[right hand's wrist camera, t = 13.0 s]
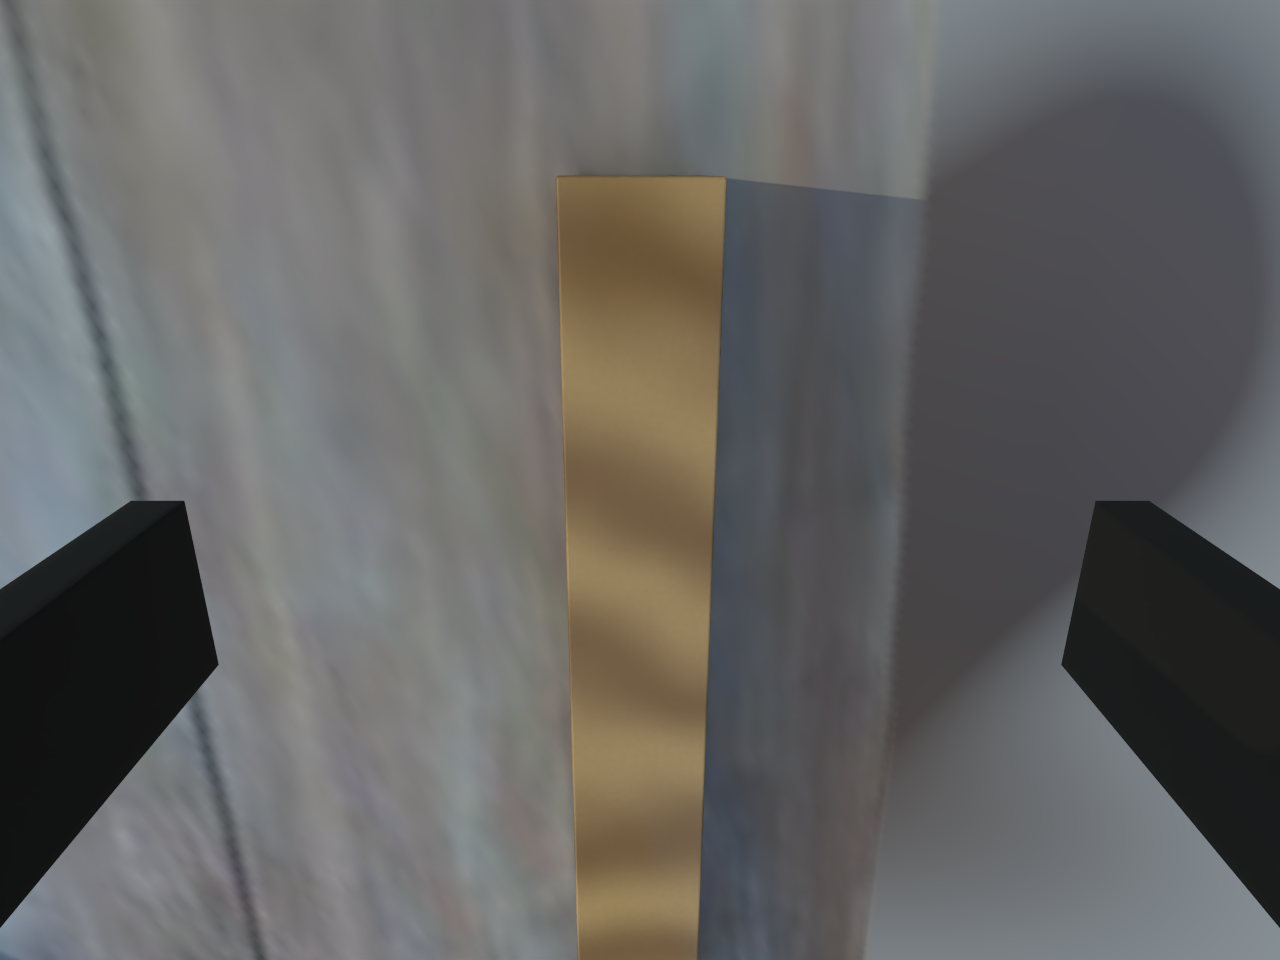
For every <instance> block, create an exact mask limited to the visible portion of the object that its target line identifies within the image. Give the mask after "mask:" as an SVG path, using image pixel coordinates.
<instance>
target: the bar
mask: <svg viewBox="0 0 1280 960" xmlns="http://www.w3.org/2000/svg"><path fill="white" fill-rule="evenodd" d="M726 188H727V179H726V177H724V176H629V175H568V176H557V177H556V205H557V240H558V276H559V311H560V347H561V382H562V418H563V453H564V489H565V524H566V560H567V595H568V631H569V666H570V702H571V737H572V773H573V808H574V844H575V879H576V915H577V951H578V960H698V941H699V914H700V887H701V860H702V833H703V807H704V780H705V753H706V726H707V699H708V672H709V645H710V618H711V592H712V565H713V538H714V511H715V484H716V457H717V430H718V403H719V376H720V350H721V323H722V296H723V269H724V242H725V215H726Z"/></svg>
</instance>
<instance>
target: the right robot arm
mask: <svg viewBox="0 0 1280 960" xmlns="http://www.w3.org/2000/svg"><path fill="white" fill-rule="evenodd" d="M218 665H219V664H218V660H217V655H216V650H215V645H214V640H213V636H212V631H211V626H210V621H209V617H208V612H207V607H206V602H205V597H204V593H203V588H202V583H201V578H200V574H199V569H198V564H197V559H196V555H195V550H194V545H193V540H192V535H191V531H190V526H189V521H188V516H187V512H186V507H185V502H184V501H130V502H129V503H127V504H126V505H124V506H123V507H121V508H120V509H118V510H117V511H115V512H114V513H112V514H111V515H110V516H108V517H107V518H105V519H104V520H102V521H101V522H99V523H98V524H96V525H95V526H93V527H92V528H90V529H89V530H87V531H86V532H84V533H83V534H81V535H80V536H78V537H77V538H76V539H74V540H73V541H71V542H70V543H68V544H67V545H65V546H64V547H62V548H61V549H59V550H58V551H56V552H55V553H53V554H52V555H50V556H49V557H47V558H46V559H44V560H43V561H41V562H40V563H39V564H37V565H36V566H34V567H33V568H31V569H30V570H28V571H27V572H25V573H24V574H22V575H21V576H19V577H18V578H16V579H15V580H13V581H12V582H10V583H9V584H7V585H6V586H5V587H3V588H2V589H0V927H1V926H2V925H3V924H4V923H5V921H6V920H7V919H8V918H9V917H10V915H11V914H12V913H13V912H14V911H15V909H16V908H17V907H18V906H19V905H20V903H21V902H22V901H23V900H24V898H25V897H26V896H27V895H28V894H29V892H30V891H31V890H32V889H33V888H34V886H35V885H36V884H37V883H38V882H39V880H40V879H41V878H42V877H43V876H44V874H45V873H46V872H47V871H48V870H49V868H50V867H51V866H52V865H53V864H54V862H55V861H56V860H57V859H58V858H59V856H60V855H61V854H62V853H63V852H64V850H65V849H66V848H67V847H68V845H69V844H70V843H71V842H72V841H73V839H74V838H75V837H76V836H77V835H78V833H79V832H80V831H81V830H82V829H83V827H84V826H85V825H86V824H87V823H88V821H89V820H90V819H91V818H92V817H93V815H94V814H95V813H96V812H97V811H98V809H99V808H100V807H101V806H102V805H103V803H104V802H105V801H106V800H107V798H108V797H109V796H110V795H111V794H112V792H113V791H114V790H115V789H116V788H117V786H118V785H119V784H120V783H121V782H122V780H123V779H124V778H125V777H126V776H127V774H128V773H129V772H130V771H131V770H132V768H133V767H134V766H135V765H136V764H137V762H138V761H139V760H140V759H141V758H142V756H143V755H144V754H145V753H146V752H147V750H148V749H149V748H150V747H151V745H152V744H153V743H154V742H155V741H156V739H157V738H158V737H159V736H160V735H161V733H162V732H163V731H164V730H165V729H166V727H167V726H168V725H169V724H170V723H171V721H172V720H173V719H174V718H175V717H176V715H177V714H178V713H179V712H180V711H181V709H182V708H183V707H184V706H185V705H186V703H187V702H188V701H189V700H190V698H191V697H192V696H193V695H194V694H195V692H196V691H197V690H198V689H199V688H200V686H201V685H202V684H203V683H204V682H205V680H206V679H207V678H208V677H209V676H210V674H211V673H212V672H213V671H214V670H215V668H216V667H217V666H218ZM1062 666H1063V667H1064V668H1065V670H1066V671H1067V672H1068V673H1069V674H1070V676H1071V677H1072V678H1073V679H1074V680H1075V682H1076V683H1077V684H1078V685H1079V686H1080V688H1081V689H1082V690H1083V691H1084V692H1085V694H1086V695H1087V696H1088V697H1089V698H1090V700H1091V701H1092V702H1093V703H1094V704H1095V706H1096V707H1097V708H1098V709H1099V711H1100V712H1101V713H1102V714H1103V715H1104V716H1105V718H1106V719H1107V720H1108V721H1109V723H1110V724H1111V725H1112V726H1113V727H1114V729H1115V730H1116V731H1117V732H1118V733H1119V735H1120V736H1121V737H1122V738H1123V739H1124V741H1125V742H1126V743H1127V744H1128V745H1129V747H1130V748H1131V749H1132V750H1133V751H1134V753H1135V754H1136V755H1137V756H1138V758H1139V759H1140V760H1141V761H1142V762H1143V764H1144V765H1145V766H1146V767H1147V768H1148V770H1149V771H1150V772H1151V773H1152V774H1153V776H1154V777H1155V778H1156V779H1157V780H1158V782H1159V783H1160V784H1161V785H1162V786H1163V788H1164V789H1165V790H1166V791H1167V792H1168V794H1169V795H1170V796H1171V797H1172V798H1173V800H1174V801H1175V802H1176V803H1177V805H1178V806H1179V807H1180V808H1181V809H1182V811H1183V812H1184V813H1185V814H1186V815H1187V817H1188V818H1189V819H1190V820H1191V821H1192V823H1193V824H1194V825H1195V826H1196V827H1197V829H1198V830H1199V831H1200V832H1201V833H1202V835H1203V836H1204V837H1205V838H1206V839H1207V841H1208V842H1209V843H1210V844H1211V845H1212V847H1213V848H1214V849H1215V850H1216V852H1217V853H1218V854H1219V855H1220V856H1221V858H1222V859H1223V860H1224V861H1225V862H1226V864H1227V865H1228V866H1229V867H1230V868H1231V870H1232V871H1233V872H1234V873H1235V874H1236V876H1237V877H1238V878H1239V879H1240V880H1241V882H1242V883H1243V884H1244V885H1245V886H1246V888H1247V889H1248V890H1249V891H1250V892H1251V894H1252V895H1253V896H1254V897H1255V898H1256V900H1257V901H1258V902H1259V903H1260V905H1261V906H1262V907H1263V908H1264V909H1265V911H1266V912H1267V913H1268V914H1269V915H1270V917H1271V918H1272V919H1273V920H1274V921H1275V923H1276V924H1277V925H1278V926H1279V927H1280V589H1278V588H1277V587H1275V586H1274V585H1272V584H1271V583H1270V582H1268V581H1267V580H1265V579H1264V578H1262V577H1261V576H1259V575H1258V574H1256V573H1255V572H1253V571H1252V570H1250V569H1249V568H1247V567H1246V566H1244V565H1243V564H1241V563H1240V562H1239V561H1237V560H1236V559H1234V558H1233V557H1231V556H1230V555H1228V554H1227V553H1225V552H1224V551H1222V550H1221V549H1219V548H1218V547H1216V546H1215V545H1213V544H1212V543H1210V542H1209V541H1207V540H1206V539H1204V538H1203V537H1201V536H1200V535H1198V534H1197V533H1196V532H1194V531H1193V530H1191V529H1190V528H1188V527H1187V526H1185V525H1184V524H1182V523H1181V522H1179V521H1178V520H1176V519H1175V518H1173V517H1172V516H1170V515H1169V514H1167V513H1166V512H1165V511H1163V510H1162V509H1160V508H1159V507H1157V506H1156V505H1154V504H1153V503H1151V502H1150V501H1096V502H1095V507H1094V512H1093V516H1092V521H1091V526H1090V531H1089V536H1088V540H1087V545H1086V550H1085V555H1084V559H1083V564H1082V569H1081V574H1080V578H1079V583H1078V588H1077V593H1076V597H1075V602H1074V607H1073V612H1072V617H1071V621H1070V626H1069V631H1068V636H1067V641H1066V645H1065V650H1064V655H1063V660H1062Z"/></svg>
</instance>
